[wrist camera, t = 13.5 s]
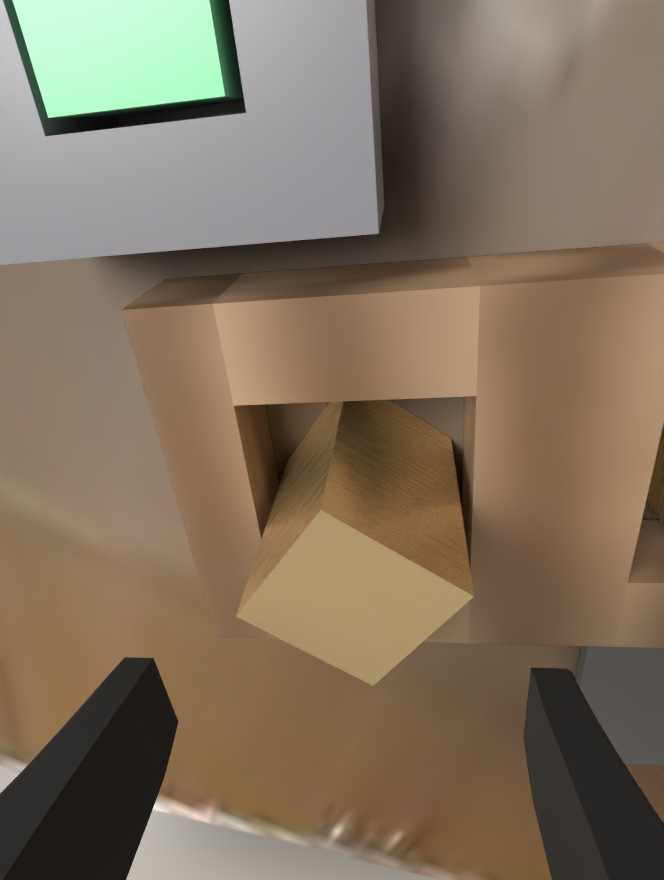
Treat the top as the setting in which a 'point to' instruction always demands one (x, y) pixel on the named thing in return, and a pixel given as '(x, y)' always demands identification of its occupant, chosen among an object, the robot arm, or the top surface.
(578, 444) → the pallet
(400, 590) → the block
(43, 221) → the button housing
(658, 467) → the block
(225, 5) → the button
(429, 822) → the top surface
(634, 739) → the mat
